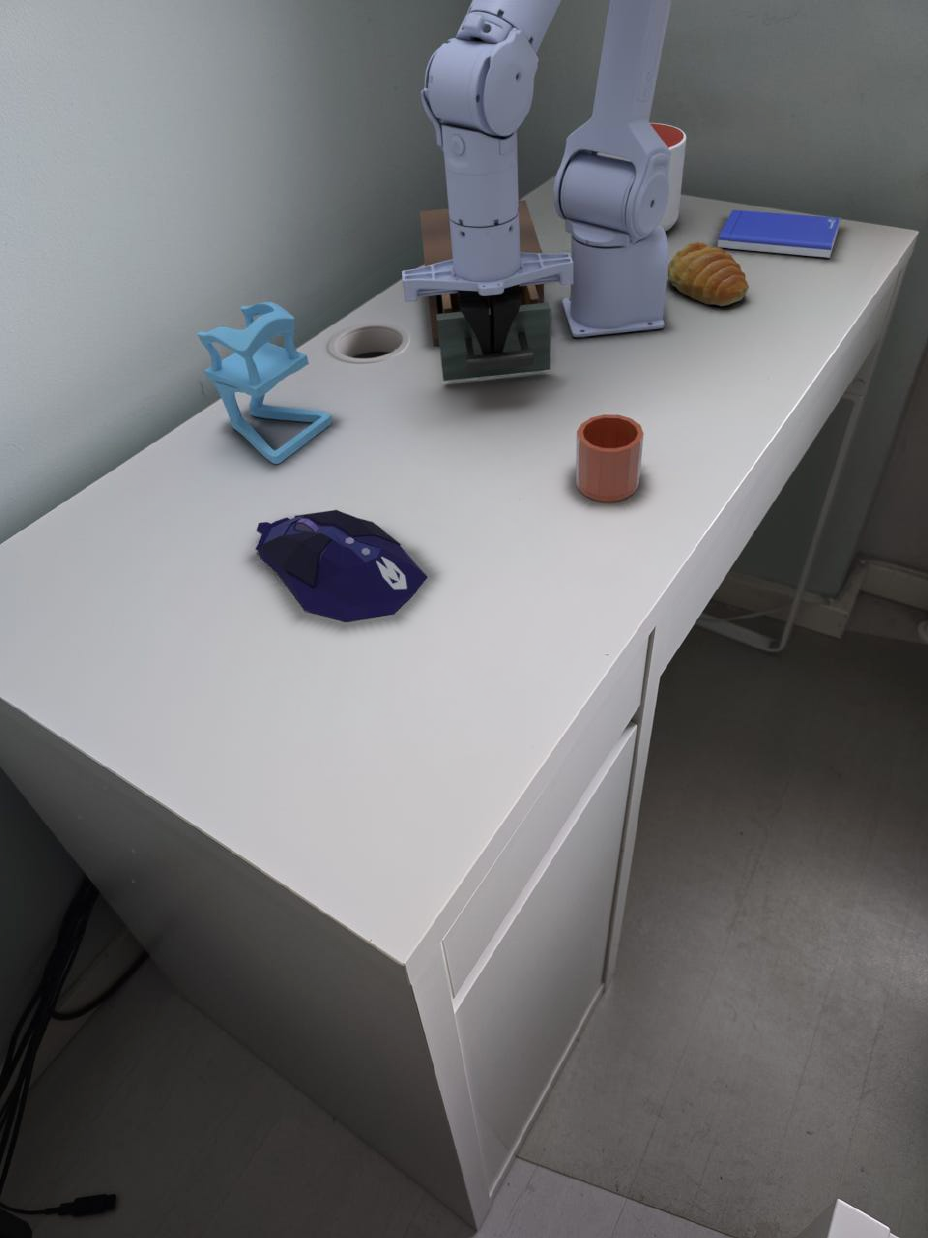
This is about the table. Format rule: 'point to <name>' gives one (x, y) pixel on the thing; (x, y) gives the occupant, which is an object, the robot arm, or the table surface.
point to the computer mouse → (339, 565)
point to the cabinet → (440, 249)
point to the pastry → (707, 274)
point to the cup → (676, 145)
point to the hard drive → (780, 233)
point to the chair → (260, 374)
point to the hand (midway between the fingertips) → (492, 363)
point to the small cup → (608, 457)
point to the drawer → (463, 351)
